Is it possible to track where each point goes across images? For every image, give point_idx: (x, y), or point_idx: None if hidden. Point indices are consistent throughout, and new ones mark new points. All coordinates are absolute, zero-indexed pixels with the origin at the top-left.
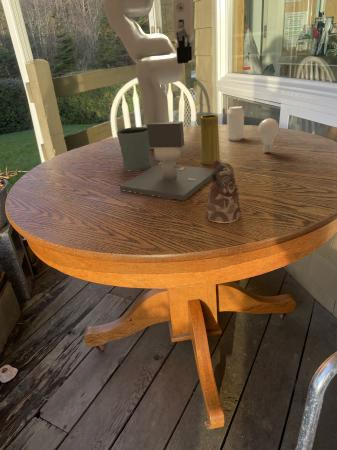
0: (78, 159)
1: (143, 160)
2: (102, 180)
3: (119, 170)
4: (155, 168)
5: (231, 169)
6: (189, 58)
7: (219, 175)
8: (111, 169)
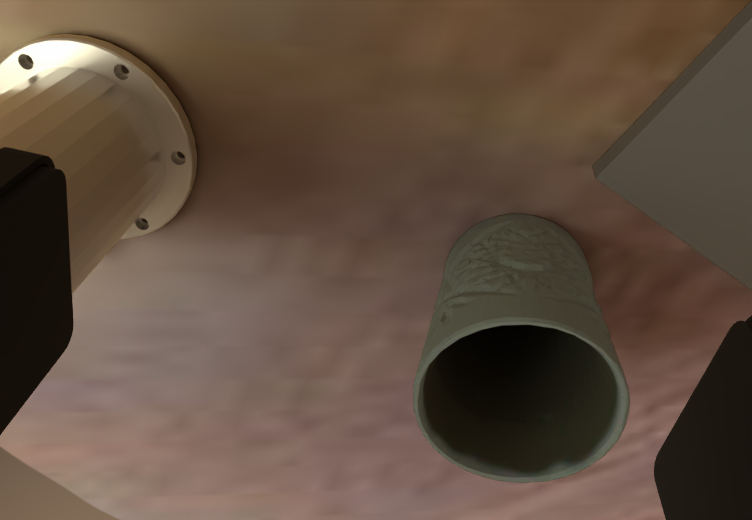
0: (275, 498)
1: (586, 271)
2: (647, 411)
3: None
4: (679, 205)
5: None
6: (47, 218)
7: None
8: None
